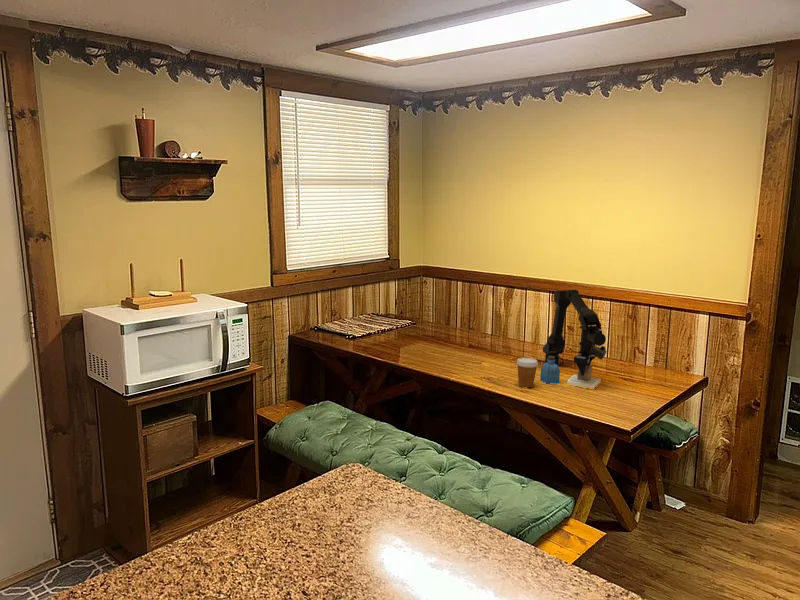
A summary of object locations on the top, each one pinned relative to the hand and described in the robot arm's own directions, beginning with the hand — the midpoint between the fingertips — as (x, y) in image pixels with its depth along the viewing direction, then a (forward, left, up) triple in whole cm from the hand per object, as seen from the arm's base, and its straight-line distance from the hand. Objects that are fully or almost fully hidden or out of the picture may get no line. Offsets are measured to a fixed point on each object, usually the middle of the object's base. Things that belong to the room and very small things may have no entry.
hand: (584, 373), depth 281 cm
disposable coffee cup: (-21, -18, -5) cm, 28 cm away
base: (0, 0, -5) cm, 5 cm away
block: (0, 0, -2) cm, 2 cm away
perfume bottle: (-14, -6, -5) cm, 16 cm away
